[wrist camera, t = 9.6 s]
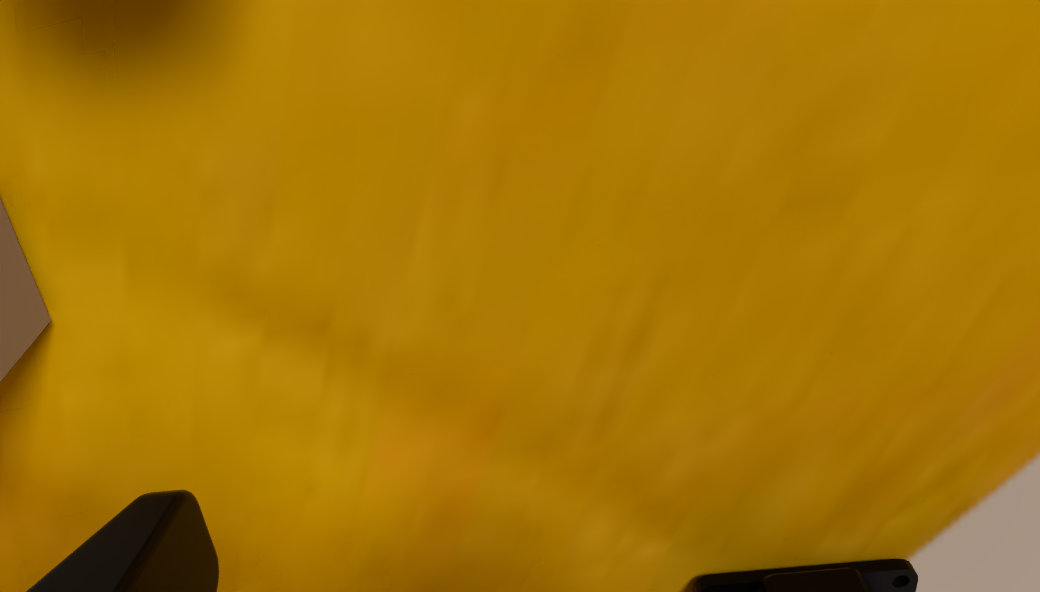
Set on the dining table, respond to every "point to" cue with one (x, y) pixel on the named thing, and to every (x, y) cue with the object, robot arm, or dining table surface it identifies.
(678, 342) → the dining table surface
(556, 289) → the dining table surface
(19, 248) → the cream lane
